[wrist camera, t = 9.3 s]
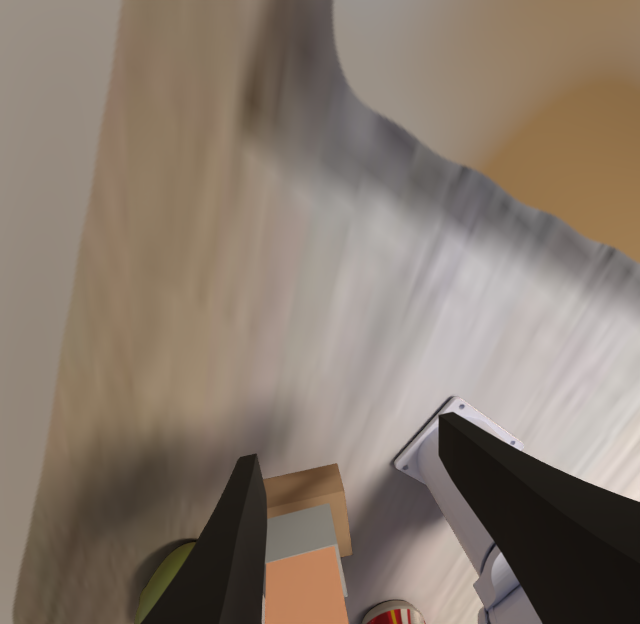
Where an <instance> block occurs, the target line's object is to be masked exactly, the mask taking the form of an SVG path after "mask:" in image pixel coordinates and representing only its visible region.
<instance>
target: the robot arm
mask: <svg viewBox="0 0 640 624" xmlns="http://www.w3.org/2000/svg"><path fill="white" fill-rule="evenodd" d="M461 404H462V405H461ZM460 405H461V406H460ZM459 406H460V407H459ZM523 448H524V444H523V443H522V442H521V441H520V440H518V439H517V438H516V437H514V436H513V435H511V434H510V433H509V432H507V431H506V430H504V429H503V428H502V427H500V426H499V425H498V424H496V423H495V422H493V421H492V420H491V419H489V418H488V417H486V416H485V415H484V414H482V413H481V412H479V411H478V410H477V409H475V408H474V407H472V406H471V405H470V404H468V403H467V402H466V401H464V400H463V399H461V398H460V397H458V396H455V397H453V398H452V399H451V400H450V401H449V402H448V403H447V404H446V405H445V406H444V407H443V408H442V409H441V411H440V412H439V413H438V414H437V415H436V416H435V417H434V418H433V419H432V420H431V422H430V423H429V424H428V425H427V426H426V427H425V428H424V429H423V430H422V431H421V433H420V434H419V435H418V436H417V437H416V438H415V439H414V440H413V441H412V442H411V443H410V445H409V446H408V447H407V448H406V449H405V450H404V451H403V452H402V453H401V454H400V456H399V457H398V458H397V459H396V460H395V462H394V465H395V467H396V468H397V469H398V470H400V471H402V472H403V473H405V474H407V475H409V476H411V477H412V478H414V479H416V480H418V481H420V482H422V483H423V484H425V485H427V487H428V488H429V490H430V492H431V494H432V495H433V497H434V499H435V501H436V502H437V504H438V506H439V508H440V509H441V511H442V513H443V515H444V516H445V518H446V520H447V522H448V523H449V525H450V527H451V529H452V530H453V532H454V534H455V535H456V537H457V539H458V541H459V542H460V544H461V546H462V548H463V549H464V551H465V553H466V555H467V556H468V558H469V560H470V562H471V563H472V565H473V567H474V569H475V570H476V572H477V574H478V576H479V579H478V580H477V581H476V582H475V583H474V584H473V586H474V588H475V590H476V592H477V594H478V596H479V597H480V599H481V601H482V603H483V605H484V607H482V608H481V609H480V610H479V613H478V624H640V502H638V501H635V500H632V499H629V498H627V497H624V496H621V495H618V494H616V493H613V492H611V491H608V490H605V489H603V488H600V487H598V486H595V485H593V484H590V483H588V482H585V481H583V480H581V479H578V478H576V477H574V476H571V475H569V474H567V473H565V472H563V471H560V470H558V469H556V468H554V467H552V466H550V465H548V464H545V463H543V462H541V461H539V460H537V459H536V458H534V457H532V456H530V455H528V454H526V453H524V452H522V450H523ZM405 465H406V466H405ZM266 540H267V495H266V491H265V487H264V482H263V478H262V474H261V470H260V466H259V462H258V458H257V454H252V455H248V456H243V457H240V458H239V459H238V461H237V463H236V465H235V468H234V470H233V472H232V475H231V477H230V479H229V481H228V483H227V486H226V488H225V490H224V492H223V494H222V496H221V498H220V500H219V502H218V504H217V506H216V508H215V510H214V512H213V513H212V515H211V517H210V519H209V521H208V523H207V524H206V526H205V528H204V530H203V531H202V533H201V535H200V537H199V538H198V540H197V542H196V543H195V545H194V547H193V548H192V550H191V552H190V553H189V555H188V556H187V558H186V560H185V561H184V563H183V564H182V566H181V567H180V569H179V570H178V572H177V573H176V575H175V576H174V578H173V579H172V581H171V582H170V584H169V585H168V586H167V588H166V589H165V591H164V592H163V593H162V595H161V596H160V598H159V599H158V601H157V602H156V603H155V605H154V606H153V607H152V609H151V610H150V611H149V613H148V614H147V615H146V617H145V618H144V619H143V621H142V622H141V623H140V624H262V597H263V583H264V569H265V555H266Z"/></svg>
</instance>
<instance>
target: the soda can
mask: <svg viewBox="0 0 640 624" xmlns="http://www.w3.org/2000/svg"><path fill="white" fill-rule="evenodd" d="M362 624H426V623H425V621H424V618H423V616H422V614H421V613H420V612H419V611H418V610H417V609H416V608H415V607H414V606H413V605H411V604H410V603H408V602H405V601H399V600H393V601H388V602H384V603H382V604H379V605H377V606H376V607H374V608H373V609H371V610H370V611H369V612H368V613H367V614H366V615H365V617H364V619H363V621H362Z"/></svg>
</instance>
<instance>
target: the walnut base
mask: <svg viewBox="0 0 640 624" xmlns="http://www.w3.org/2000/svg"><path fill="white" fill-rule="evenodd" d="M263 482H264V487H265V491H266V495H267V519H269V518H273V517H277V516H281V515H285V514H288V513H292V512H296V511H300V510H304V509H308V508H312V507H315V506H319V505H323V504H327V503H329V504H330V509H331V514H332V519H333V524H334V529H335V534H336V539H337V544H338V549H339V554H340V558H341V557H345V556H349V555H353V554H352V547H351V539H350V531H349V523H348V516H347V508H346V500H345V492H344V488H343V484H342V480H341V476H340V472H339V469H338V465H337V463H336V464H331V465H327V466H322V467H318V468H313V469H309V470H304V471H300V472H295V473H291V474H286V475H282V476H277V477H273V478H268V479H264V480H263Z"/></svg>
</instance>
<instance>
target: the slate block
mask: <svg viewBox="0 0 640 624" xmlns="http://www.w3.org/2000/svg"><path fill="white" fill-rule="evenodd" d="M332 546H334V547H335V552H336V557H337V563H338V568H339V574H340V579H341V584H342V590H343V595H344V597H348V594H347V589H346V584H345V579H344V574H343V569H342V564H341V559H340V554H339V549H338V544H337V539H336V534H335V529H334V524H333V519H332V514H331V509H330V504H329V503H327V504H323V505H319V506H315V507H312V508H308V509H304V510H300V511H296V512H292V513H288V514H285V515H281V516H277V517H273V518H269V519H267V540H266V555H265V569H264V583H263V594H264V597H265V598H266V563H270V562H274V561H278V560H281V559H285V558H289V557H293V556H297V555H301V554H305V553H309V552H313V551H316V550H320V549H324V548H328V547H332Z"/></svg>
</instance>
